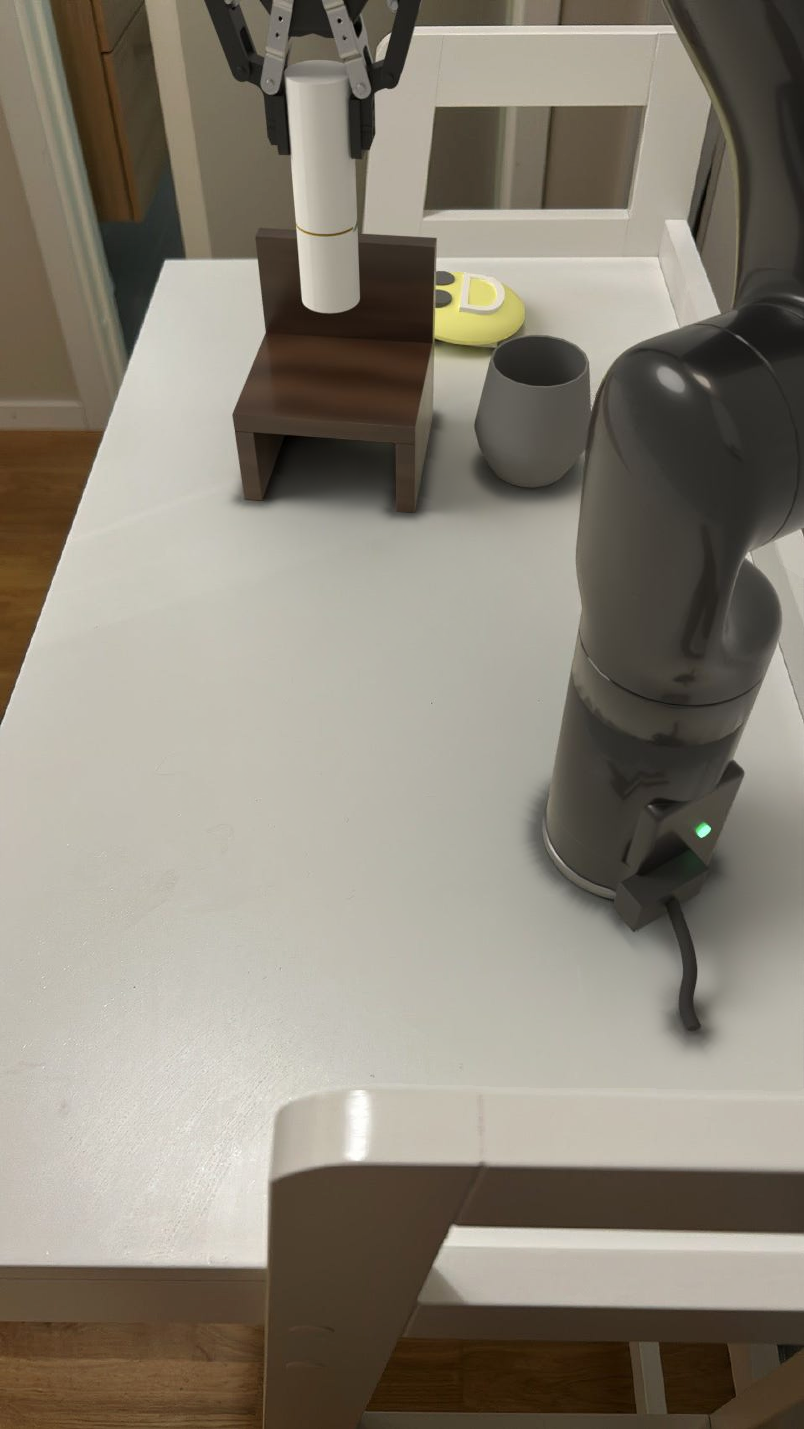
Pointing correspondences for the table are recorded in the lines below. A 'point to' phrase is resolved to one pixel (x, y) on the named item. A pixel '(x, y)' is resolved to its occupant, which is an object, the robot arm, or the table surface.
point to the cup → (534, 409)
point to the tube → (323, 184)
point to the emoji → (475, 309)
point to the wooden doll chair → (343, 360)
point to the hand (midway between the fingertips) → (323, 151)
